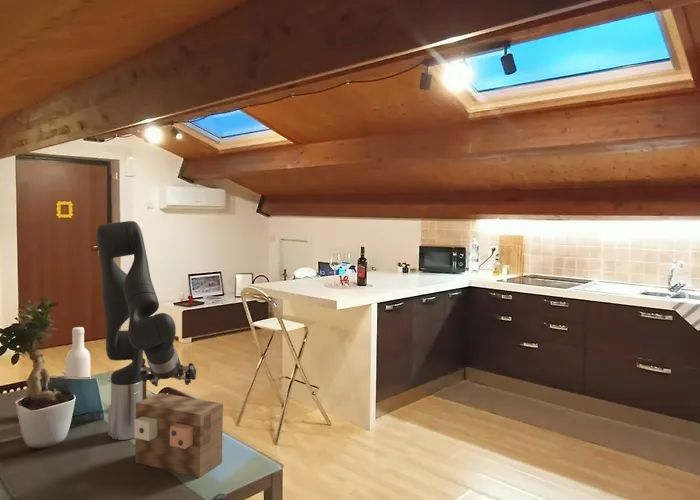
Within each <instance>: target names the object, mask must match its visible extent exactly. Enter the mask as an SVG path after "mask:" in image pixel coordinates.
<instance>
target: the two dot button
mask: <svg viewBox="0 0 700 500" xmlns="http://www.w3.org/2000/svg"><path fill="white" fill-rule="evenodd" d="M193 435H194V425H190V424H185V423H177V424H175V425H173V426H171V427H170V446H174V447H179V448H183V449H186V448H187V447H189V446H191V445H193Z"/></svg>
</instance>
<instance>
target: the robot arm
mask: <svg viewBox="0 0 700 500" xmlns="http://www.w3.org/2000/svg"><path fill="white" fill-rule="evenodd" d="M96 243H97V252H98V257H99V262H100V269H101V279H102V280H101V282H102V299H103V300H102V302H103V308H104V309H103V310H104V317H105V351H106V356H107V358H108V359H109V360H110V361H132V362H131V363H129V364H128V365H126V366H124V367H122V368H119V369H117V370H114V371H113V372H112V373H111V375H110V404H109V405H108V407H107V408H108V413H107V415H108V417H107V418H108V419H107V420H108V421H107V423H108V424H107V431H108V432H107V433H108V434H107V435H108V436H110V438H111V437H112V438H111V439H113V440H117V439H118V440H119V441H120V440H121V441H122V440H132V439H136V438H135V420H136V402H139V401H141V400H142V383H143V381H144V382H145V381H146V382H148V381H149V382H150V383H151V385H153V386H154V387H158V386H159V380H167V379H175V380H178V381H181V380H183V381H184V383H185V385H186V386H189V385H190V384H191V383H192V380H193V381H194V380H196V379H197V377H196V376H197V369H196V368H195V364H194V363H192V362H190V363H188V365H186V366H185V365H183V364H181V361H180V358H179V354H178V350H177V348H176V347H175V345H174V341H175V339H176V338H175V337H176V331H177V329H176V323H175V321H174V319H173V317H172V316H171V315H169V314H168V313H165V312H161V313H157V311H158V310H159V308H160V302H159V300H158V296H157V292H156V291H155V288H154V285H153V281H152V277H151V274H150V267H149V261H148V256H147V250H146V245H145V241H144V236H143V233H142V230H141V228H140V226H139V224H138V223H137V222H136V221H133V220H127V221H118V222H111V223H110V222H109V223H103V224H101V225H99V226H98V227H97V229H96ZM132 255H133V261H132V264H131V267H130V268H129V270H128V272H127V273H126V272H125V271H124V270H123V269H121V268H120V267H119V265H118V264H117V263H116V262H115V260H114V258H115V259H116V258H119V257H120V258H121V257H129V256H132ZM155 313H156V314H155ZM126 321H128V327H127V328H128V330H125V329H124V330H120V329H121V327H122V326H123V324H124V323H125V322H126ZM144 355H145V357H146V361H147V365H148V366H147V365H146V364H144V365H142V362H143V358H144ZM118 440H117V441H118Z"/></svg>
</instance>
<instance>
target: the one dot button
mask: <svg viewBox="0 0 700 500" xmlns="http://www.w3.org/2000/svg"><path fill="white" fill-rule="evenodd" d="M156 437H158V418H154V417H149V416H142V417H140V418H138V419H136V420H135V438H134V439H136V438H138V439H142V440H147V441H150V440H152V439H154V438H156Z"/></svg>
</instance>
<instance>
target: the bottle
mask: <svg viewBox="0 0 700 500" xmlns="http://www.w3.org/2000/svg"><path fill="white" fill-rule="evenodd" d="M71 334H72V337H71V339H72V348H71V349H70V350H68V352H67V354H66V356H65V377H66V376H78V377H90V378H91V355H90V351H89V350H88V349H87V348H86V347H85V328H84V327H83V326H75V327H73V328H72V331H71Z"/></svg>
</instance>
